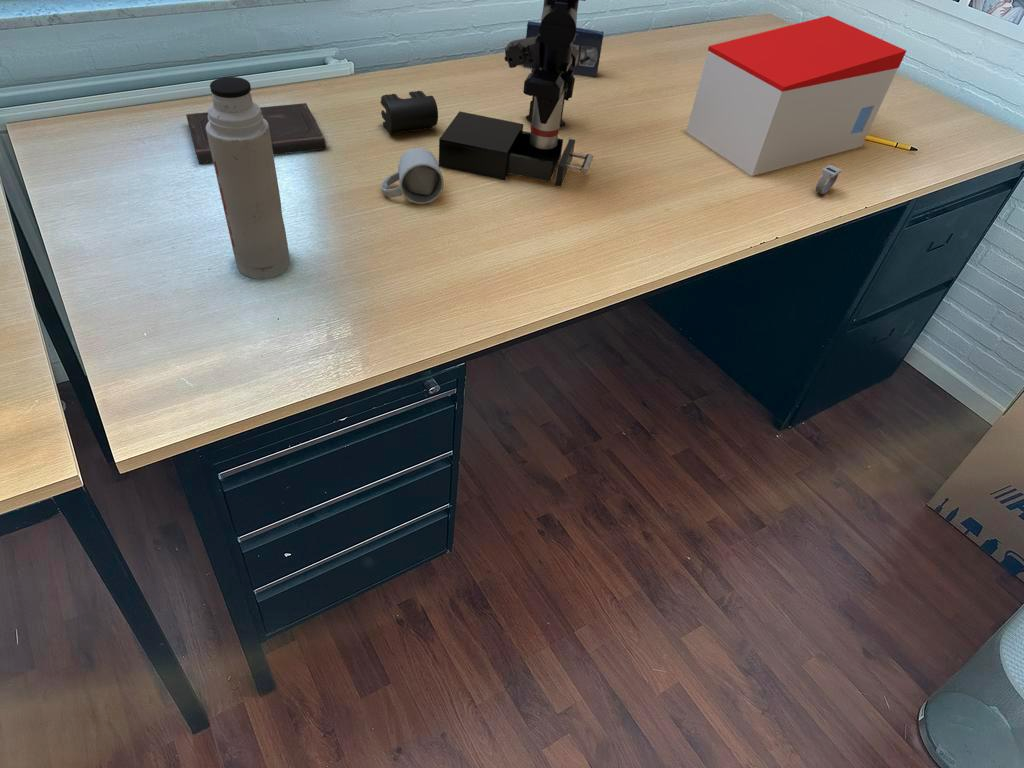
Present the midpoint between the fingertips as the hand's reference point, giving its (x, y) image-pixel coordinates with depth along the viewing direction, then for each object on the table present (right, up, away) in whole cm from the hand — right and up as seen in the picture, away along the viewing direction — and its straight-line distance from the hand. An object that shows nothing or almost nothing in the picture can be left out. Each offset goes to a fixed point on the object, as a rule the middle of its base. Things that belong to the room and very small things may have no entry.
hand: (546, 117), depth 131 cm
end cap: (-28, +3, +15) cm, 31 cm away
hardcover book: (-56, -2, +7) cm, 56 cm away
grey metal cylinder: (0, -4, +3) cm, 5 cm away
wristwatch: (+56, -11, +12) cm, 58 cm away
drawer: (0, -7, +7) cm, 10 cm away
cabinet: (-13, -5, +9) cm, 16 cm away
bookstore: (+52, +5, +27) cm, 59 cm away
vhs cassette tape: (+5, +28, +44) cm, 53 cm away
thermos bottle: (-45, -31, -21) cm, 58 cm away
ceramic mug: (-24, -15, -2) cm, 29 cm away
